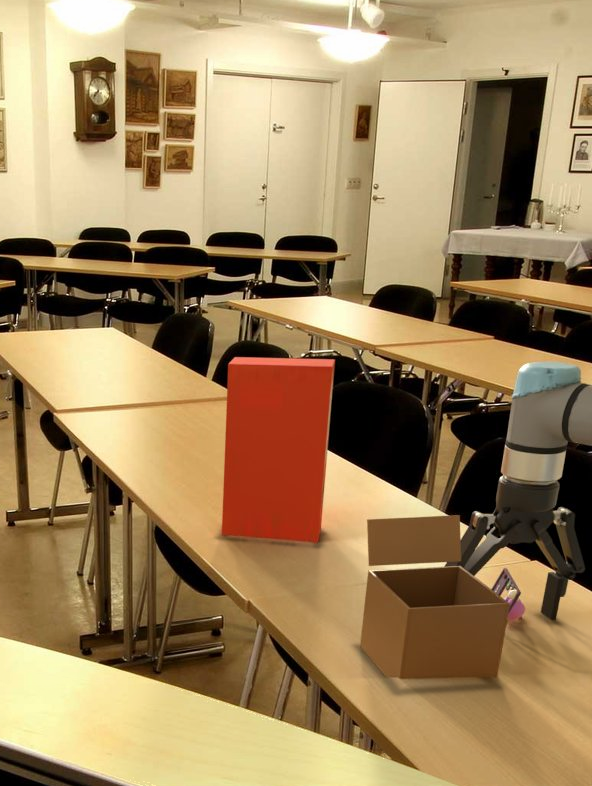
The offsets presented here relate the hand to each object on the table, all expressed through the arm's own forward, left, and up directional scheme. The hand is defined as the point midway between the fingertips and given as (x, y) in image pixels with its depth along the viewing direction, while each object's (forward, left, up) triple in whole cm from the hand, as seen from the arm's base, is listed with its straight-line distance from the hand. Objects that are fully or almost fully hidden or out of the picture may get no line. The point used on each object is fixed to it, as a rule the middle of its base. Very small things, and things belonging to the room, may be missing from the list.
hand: (504, 619), depth 133 cm
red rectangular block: (+23, -41, 0) cm, 47 cm away
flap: (+18, +5, +15) cm, 23 cm away
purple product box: (0, 0, 0) cm, 0 cm away
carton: (+17, +12, 0) cm, 21 cm away
